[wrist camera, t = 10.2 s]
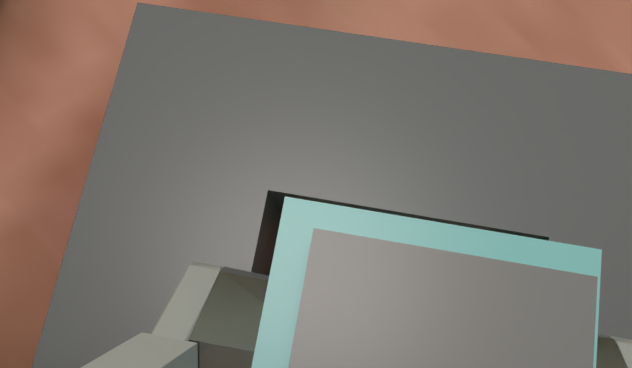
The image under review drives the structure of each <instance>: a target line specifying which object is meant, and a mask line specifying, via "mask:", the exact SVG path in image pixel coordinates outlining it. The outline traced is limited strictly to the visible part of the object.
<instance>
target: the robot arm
mask: <svg viewBox="0 0 632 368" xmlns="http://www.w3.org/2000/svg"><path fill="white" fill-rule="evenodd" d="M268 280H269V276H268V275H263V274H258V273H253V272H248V271H244V270H239V269H234V268H229V267H221V266H216V265H211V264H206V263H201V262H196V261H194V262H193V263H192V264H190V265H189V266H188V267H187V269H186V271H185V273H184V275H183V276H182V278H181V280H180V282H179V284H178V285H177V287H176V289H175V291H174V293H173V294H172V296H171V298H170V300H169V302H168V304H167V305H166V307H165V309H164V311H163V313H162V314H161V316H160V318H159V320H158V322H157V323H156V325H155V327H154V329H153V331H152V332H151V334H148V333H142V332H141V333H139V334H137V335H136V336H134V337H132V338H131V339H129V340H127V341H125V342H124V343H122V344H120V345H119V346H117V347H115V348H113V349H112V350H110V351H108V352H107V353H105V354H103V355H101V356H100V357H98V358H96V359H95V360H93V361H91V362H89V363H88V364H86V365H84V366H83V367H81V368H251V367H252V361H253V356H254V351H255V346H256V341H257V336H258V331H259V326H260V321H261V316H262V311H263V305H264V300H265V295H266V290H267V285H268ZM596 368H632V339H625V338H619V337H613V336H604V335H598V339H597V359H596Z"/></svg>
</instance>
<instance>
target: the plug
mask: <svg viewBox="0 0 632 368" xmlns="http://www.w3.org/2000/svg"><path fill="white" fill-rule="evenodd" d="M601 258H602V250H601V249H595V248H590V247H584V246H578V245H572V244H566V243H560V242H554V241H548V240H542V239H536V238H530V237H524V236H518V235H512V234H506V233H500V232H494V231H488V230H482V229H476V228H470V227H464V226H458V225H452V224H446V223H441V222H435V221H429V220H423V219H417V218H411V217H405V216H399V215H393V214H387V213H381V212H375V211H369V210H363V209H357V208H351V207H345V206H339V205H333V204H327V203H321V202H315V201H309V200H303V199H297V198H292V197H286V196H285V199H284V204H283V209H282V214H281V219H280V224H279V229H278V234H277V239H276V244H275V249H274V255H273V260H272V265H271V270H270V275H269V280H268V285H267V290H266V295H265V300H264V305H263V311H262V316H261V321H260V326H259V331H258V336H257V341H256V346H255V351H254V356H253V361H252V367H251V368H596V359H597V339H598V319H599V298H600V278H601Z"/></svg>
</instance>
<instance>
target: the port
mask: <svg viewBox="0 0 632 368" xmlns="http://www.w3.org/2000/svg"><path fill="white" fill-rule="evenodd" d="M285 196H286V197H292V198H297V199H303V200H309V201H315V202H321V203H327V204H333V205H339V206H345V207H351V208H357V209H363V210H369V211H375V212H381V213H387V214H393V215H399V216H405V217H411V218H417V219H423V220H429V221H435V222H441V223H446V224H452V225H458V226H464V227H470V228H476V229H482V230H488V231H494V232H500V233H506V234H512V235H518V236H524V237H530V238H536V239H542V240H548V241H554V242H560V243H566V244H572V245H578V246H584V247H590V248H595V249H601V250H602V258H601V278H600V298H599V319H598V335H604V336H613V337H619V338H625V339H632V74H627V73H620V72H614V71H607V70H600V69H593V68H586V67H579V66H572V65H565V64H558V63H551V62H545V61H538V60H531V59H524V58H517V57H510V56H503V55H496V54H489V53H482V52H476V51H469V50H462V49H455V48H448V47H441V46H434V45H427V44H420V43H413V42H406V41H400V40H393V39H386V38H379V37H372V36H365V35H358V34H351V33H344V32H337V31H331V30H324V29H317V28H310V27H303V26H296V25H289V24H282V23H275V22H268V21H262V20H255V19H248V18H241V17H234V16H227V15H220V14H213V13H206V12H199V11H193V10H186V9H179V8H172V7H165V6H158V5H151V4H144V3H137V7H136V10H135V13H134V17H133V20H132V24H131V27H130V31H129V34H128V38H127V41H126V44H125V48H124V51H123V55H122V58H121V62H120V65H119V69H118V72H117V75H116V79H115V82H114V86H113V89H112V93H111V96H110V99H109V103H108V106H107V110H106V113H105V117H104V120H103V124H102V127H101V130H100V134H99V137H98V141H97V144H96V148H95V151H94V155H93V158H92V161H91V165H90V168H89V172H88V175H87V179H86V182H85V185H84V189H83V192H82V196H81V199H80V203H79V206H78V210H77V213H76V216H75V220H74V223H73V227H72V230H71V234H70V237H69V241H68V244H67V247H66V251H65V254H64V258H63V261H62V265H61V268H60V272H59V275H58V278H57V282H56V285H55V289H54V292H53V296H52V299H51V302H50V306H49V309H48V313H47V316H46V320H45V323H44V327H43V330H42V333H41V337H40V340H39V344H38V347H37V351H36V354H35V358H34V361H33V364H32V368H81V367H83V366H84V365H86V364H88V363H89V362H91V361H93V360H95V359H96V358H98V357H100V356H101V355H103V354H105V353H107V352H108V351H110V350H112V349H113V348H115V347H117V346H119V345H120V344H122V343H124V342H125V341H127V340H129V339H131V338H132V337H134V336H136V335H137V334H139V333H141V332H142V333H148V334H151V332H152V331H153V329H154V327H155V325H156V323H157V322H158V320H159V318H160V316H161V314H162V313H163V311H164V309H165V307H166V305H167V304H168V302H169V300H170V298H171V296H172V294H173V293H174V291H175V289H176V287H177V285H178V284H179V282H180V280H181V278H182V276H183V275H184V273H185V271H186V269H187V267H188V266H189V265H190V264H192V263H193V262H194V261H196V262H201V263H206V264H211V265H216V266H221V267H229V268H234V269H239V270H244V271H248V272H253V273H258V274H263V275H268V276H269V275H270V270H271V265H272V260H273V255H274V249H275V244H276V239H277V234H278V229H279V224H280V219H281V214H282V209H283V204H284V199H285Z"/></svg>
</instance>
